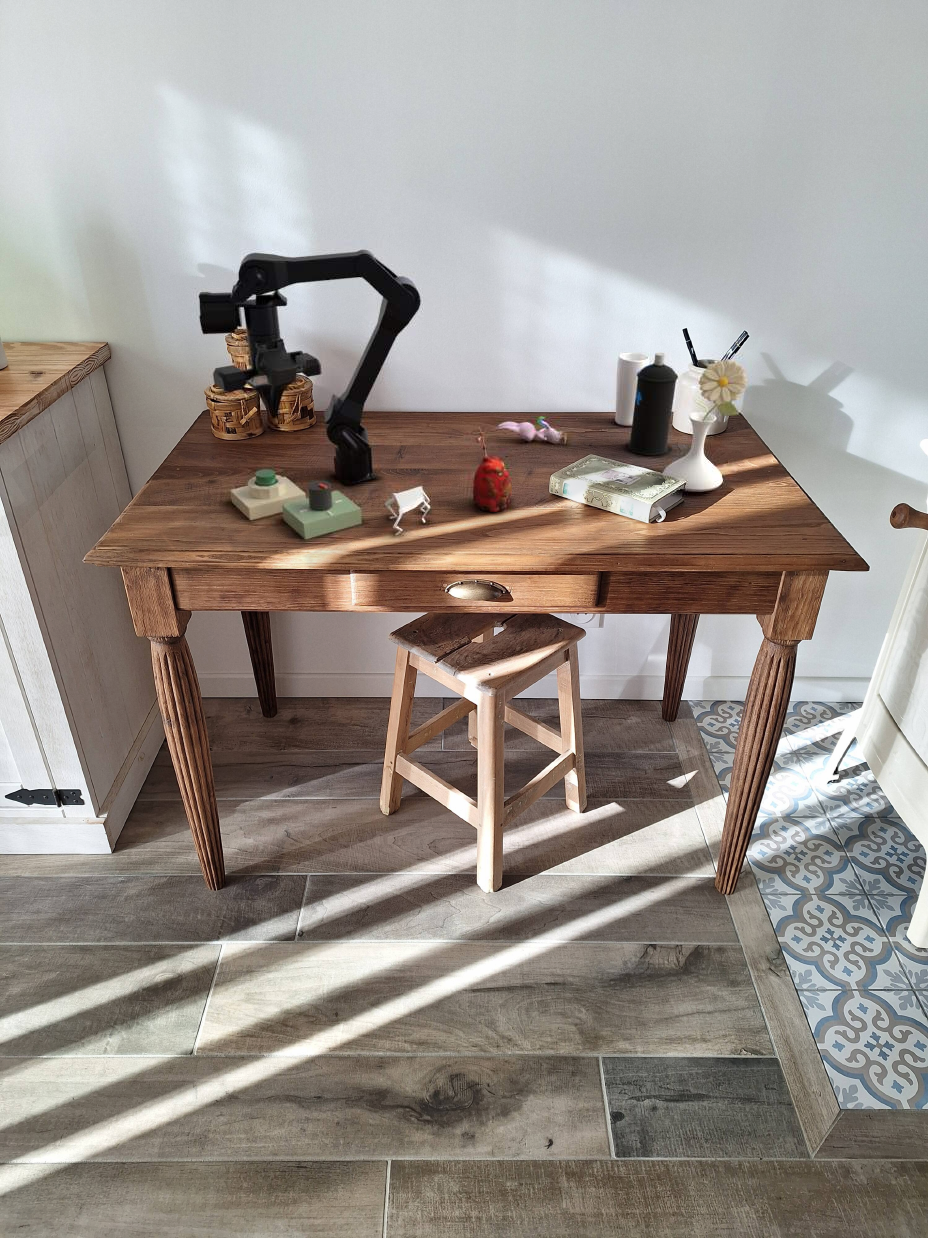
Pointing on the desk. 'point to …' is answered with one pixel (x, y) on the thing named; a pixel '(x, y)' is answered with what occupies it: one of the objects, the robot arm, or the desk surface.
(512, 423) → the rabbit figure
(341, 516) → the console
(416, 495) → the white block with legs
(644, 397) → the aerosol can
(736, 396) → the flower in vase
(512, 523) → the desk surface
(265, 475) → the green button cap
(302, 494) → the button base
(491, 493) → the red clay folk toy
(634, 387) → the white cylindrical vase
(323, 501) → the dial
